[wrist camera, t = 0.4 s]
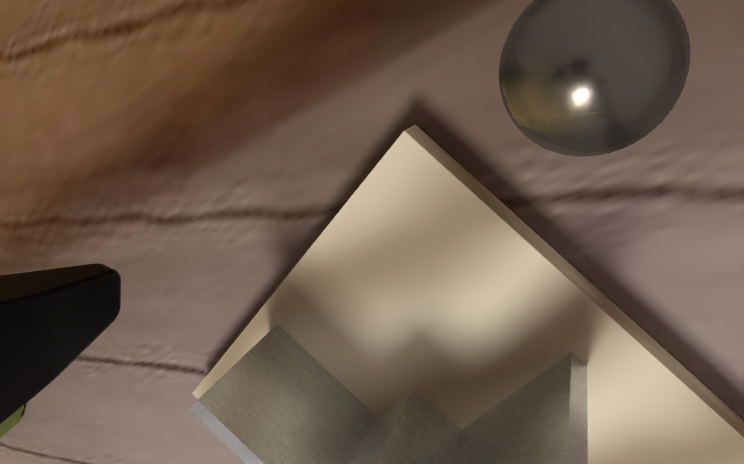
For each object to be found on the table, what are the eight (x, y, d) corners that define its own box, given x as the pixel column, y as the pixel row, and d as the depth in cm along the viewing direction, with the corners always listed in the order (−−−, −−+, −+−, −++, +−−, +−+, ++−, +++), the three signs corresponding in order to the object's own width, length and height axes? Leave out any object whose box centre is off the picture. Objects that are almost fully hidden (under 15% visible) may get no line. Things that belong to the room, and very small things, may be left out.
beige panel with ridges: (755, 431, 20) (838, 623, 14) (432, 591, 30) (390, 746, 23) (415, 124, 21) (338, 166, 14) (208, 378, 31) (107, 472, 24)
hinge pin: (658, 43, 17) (736, 55, 8) (585, 115, 18) (586, 189, 10) (587, -19, 17) (590, -70, 8) (520, 57, 19) (465, 81, 10)
